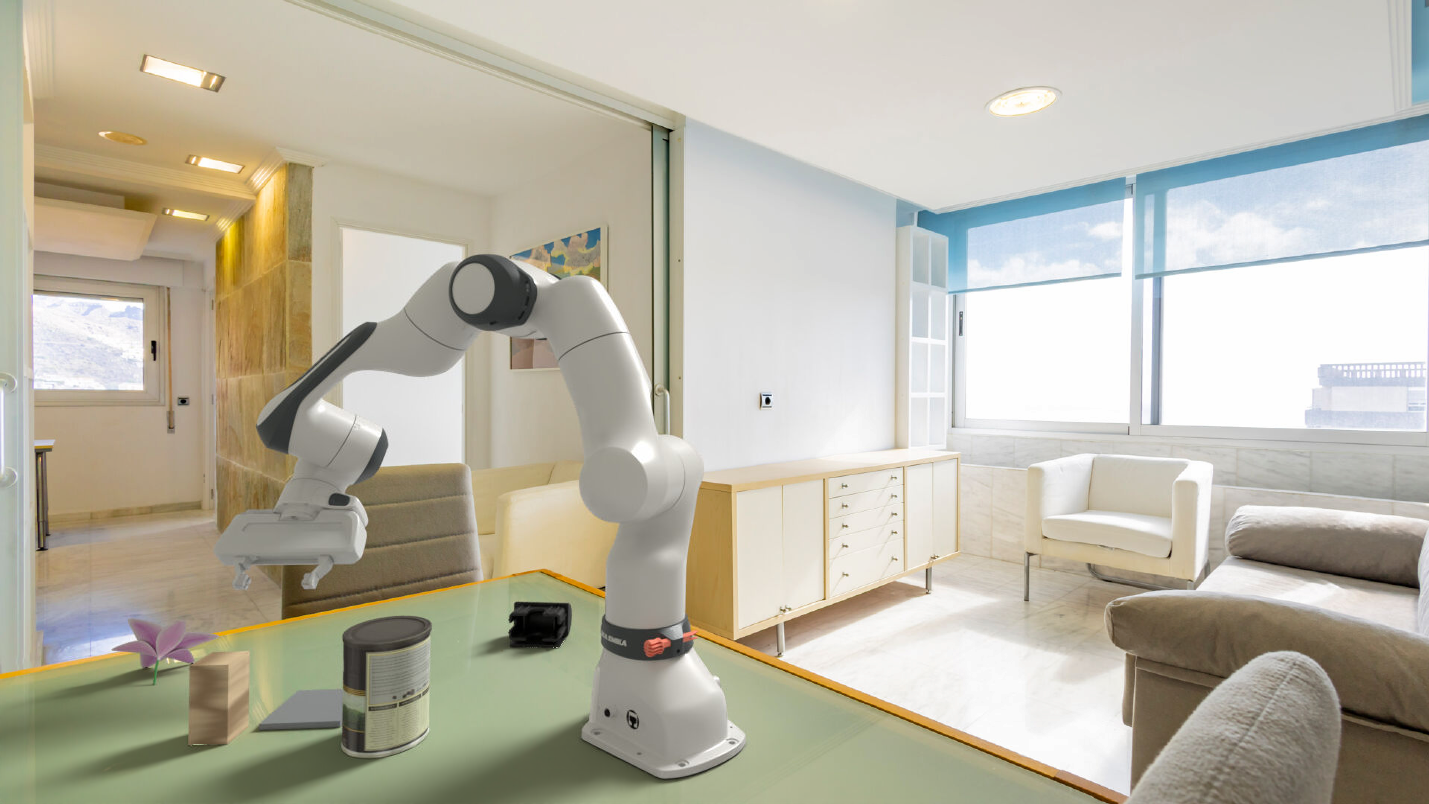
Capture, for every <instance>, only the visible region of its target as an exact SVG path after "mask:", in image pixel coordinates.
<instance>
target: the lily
mask: <svg viewBox="0 0 1429 804" xmlns="http://www.w3.org/2000/svg"><path fill="white" fill-rule="evenodd" d="M186 622H187V621H186V620H185V619H180V620H177V621H175V622H173V623H171V624H169V625H167V626H166V627H163V626H162V625H160V624H158V623H154V622H152V621H148V620H145V619H141V618H140V619H139V618H128V619H127V623H128V625H129V627H130V629H131V631H132V632H133V635H134V636H135V637H134V638H135V639H136V640H133V641H128V642H125V643H122V644H120V645H118V646H115V647H112V649H111V651H112V652H122V653H134V654H135V653H136V654H139V661H140V666H141V669H146V668H145V667H148V668H150V667H152V666H154V665H155V668H154V673H153V681H152V682H153V683H152V685H153V684H156V683H157V674H158V667H159V664H160V662H162V661H164V660H165V659H170V660H171V659H172V660H175V661H177V662H182V663H186V664H189V663H194V662H196V661H195V658H194V655H193V653H192V652H191V650H190V649H191V648H194V647H197V646H199V645H202V644H204V643H208V642H210V641H214V640H217V639H219V638H220V636H219V635H218V634H215V633H211V632H206V631H196V630H195V631H192V630H191V631H187V623H186ZM156 685H157V684H156Z"/></svg>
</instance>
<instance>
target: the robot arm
mask: <svg viewBox="0 0 1429 804" xmlns="http://www.w3.org/2000/svg"><path fill="white" fill-rule="evenodd" d="M483 331H484V332H485V331H486V332H493V333H497V334H501V335H505V336H507V337H510V338H514V339H515V338H516V339H525V340H526V339H527V340H536V341H547V342H548V343H549V345H550V347H551V349H552V353H553V355H554V357H555V360H556V362H557V365H558V367H559V370H560V372H561V375H562V378H563V381H564V382H565V385H566V387H567V389H568V393H569V395H570V398H571V400H572V402H573V403H572V404H573V405H574V408H575V411H576V414H577V415H576V416H577V417H578V422H579V428H580V434H581V435H580V436H581V441H582V448H583V463H582V466H581V469H580V473H579V477H578V478H579V480H578V488H579V489H578V490H579V494H580V497H581V499H582V502H583V504H584V505H585V507H586V508H587V510H588V511H589V512H590V513H591V514H592V515H593V516H594V517H596V518H597V519H599V520H602V521H604V522H606V523H607V522H608V523H613V524H618V527H617V532H616V534H615V539H614V540H613V544H612V547H610V548H611V549H610V550H609V552H608V554H607V557H606V561H605V590H604V591H605V592H604V597H605V598H604V599H605V601H604V603H605V605H604V614H603V615H602V617H601V624H600V643H601V646H602V647H603V648H602V652H601V655H600V659H599V660H598V662H597V665H596V667H595V669H594V671H593V679H592V688H591V697H590V705H589V707H590V708H589V716H588V721H587V722H586V723H585V725H584V726H582V729H581V739H582V740H584V741H586V742H587V743H589V744H591V745H593V746H595V747H597V748H599V749H601V750H603V751H605V752H607V753H609V754H611V755H613V756H614V757H617V758H619V759H621V760H623V761H625V762H627V763H629V764H631V765H633V766H635V767H636V768H638V769H641V770H643V771H645V772H646V773H649V774H651V775H652V776H654V777H656V778H660V779H675V778H682V777H683V778H684V777H687V776H691V775H694V774H698V773H700V772H703V771H706V770H708V769H711V768H713V767H715V766H718V765H720V764H722V763H724V762H726V761H728V760H729V759H731V758H733V757H734V756H735V755H737V754H738V753H740V751H741V750H742V749H744V747H745V746H746V744H747V743H746V742H747V738H746V737H747V736H746V733H745V732H744V731H743V730H742V729H741V728H739V727H738V726H737V725H736V724H734V723H733V722H732V721H731V720H730V719H729V718H728V709H727V708H728V707H727V700H726V697H725V694H724V693H725V692H724V691H723V690H722V689H723V688H722V683H721V680H720V678H719V677H718V676H717V675H713V674H711V671H709V669H708V668H707V666H706V664H705V663H704V662H703V660H702V659H701V657H700V656H699V654H698V653H697V652H696V650H695V648H694V640H696V639H698V636H695V635H696V634H697V633H698V632H699V631H698V630H692V629H691V628H692V627H691V623H690V620H689V615H688V614H687V613H686V597H687V596H686V593H687V591H686V587H687V586H686V585H687V564H688V563H687V560H688V552H689V545H690V539H691V534H692V530H693V525H694V524H693V523H694V519H695V512H696V506H697V499H698V494H699V490H700V487H701V485H702V482H703V479H704V475H705V466H704V461H703V457H702V455H701V454H700V452H699V451H698V449H697V448H696V447H695V445H693V444H692V443H691V442H689V441H687V440H685V439H683V438H681V437H678V436H676V435H673V434H665V433H664V434H659V432H658V429H657V426H656V423H655V417H654V413H653V407H652V401H651V400H652V398H651V397H652V390H653V389H652V387H653V385H652V382H651V379H650V377H649V375H648V372H647V370H646V368H645V365H644V362H643V359H642V358H641V356H640V354H639V351H638V348H637V346H636V344H635V342H634V340H633V337H632V335H631V332H630V331H629V328H628V326H627V323H626V322H625V320H624V318H623V316H622V313H621V312H620V310H619V308H618V307H617V306H616V304H615V302H614V301H613V299H612V297H611V296H610V294H609V292H608V291H607V290H606V288H605V287H604V285H603V284H602V283H601V282H600V281H599V280H597V279H596V278H595V277H591V276H588V275H584V274H583V275H581V274H580V275H579V274H578V275H577V274H576V275H570V276H567V277H564V278H562V277H560V276H558V275H556V274H554V273H551V272H547V271H545V270H543V269H542V268H539V267H536V266H534V265H533V264H532V263H528V262H526V261H522V260H517V259H512V258H507V257H505V256H503V255H499V254H493V253H491V254H490V253H479V254H475V255H471V256H468V257H467V258H465V259H463V260H461V261H458V260H457V261H456V260H455V261H450V262H448V263H447V262H446V263H445V264H443V265H442V266H441V267H440V268H439V269H437V270H436V271H435V272H434V273H433V274H432V275H431V276H430V277H429V278H427V279H426V281H424V282H423V283H422V285H421V286H419V288H417V290H416V291H415V292H414V293H413V295H412V296H411V297H410V298H409V300H408V301H407V303H406V304H405V305H404V306H403V307H402V308H401V310H400V311H399V312H398V313H396V314H394V315H393V316H391V317H389V318H387V319H384V320H382V321H378V322H375V321H366V322H363V323H362V324H360V325H358V326H356V327H355V328H353V329H352V330H351V331H349V333H347V334H346V335H345V336H344V337H343V338H341V339H340V340H339V341H338V342H336V344H335V345H334V346H333V347H330V349H329V350H328V351H326V353H325V354H323V355H322V356H321V357H320V358H319V359H318V360H317V361H316V362H315V363H313V364H312V366H310V368H308V369H306V371H305V372H304V373H303V374H302V375H301V376H299V377H298V379H296V380H295V381H294V382H293V383H291V384H290V385H289V386H287V387H286V388H285V389H283V390H282V391H281V392H280V393H278V394H277V395H275V396H274V397H273V398H272V399H270V400H269V401H268V402H267V403H266V405H265V406H264V407H263V409H261V412H260V413H259V416H258V418H257V421H256V424H255V429H256V432H257V435H258V437H259V438H260V440H261V443H263V445H264V447H265V448H266V449H269V450H273V451H276V452H279V453H282V454H284V455H290V456H293V457H296V458H297V461H296V463H295V465H294V469H293V475H292V477H291V478H290V479H289V480H288V481H287V483H285V486H284V488H283V490H282V491H281V493H280V496H279V498H278V500H277V502H276V504H275V506H274V508H269V509H268V508H264V509H256V508H253V509H247V510H246V511H243V512H241V513H239V514H235V516H234V517H233V518H232V520H231V522H230V523H229V525H227V527H226V529H224V531H223V533H222V534H221V536H220V537H219V538H218V540H217V541H216V543H215V545H214V547H213V554H214V555H215V557H216V558H217V559H218V561H219V562H220V563H221V564H222V565H223V566H233V568H234V572H235V576H234V578H233V580H232V583H231V586H232V588H233V589H234V590H235V591H245V590H246V591H247V590H248V589H249V586H250V584H251V583H252V578H251V577H249V575H248V574H247V573H246V572H245V571H250V569H251V567H252V566H290V565H291V566H293V565H294V566H296V565H297V566H298V565H299V566H300V565H303V566H304V565H307V566H309V565H317V566H316V567H315V568H314V569H313V570H312V571H311V572H310V573H309V572H306V573H304V575H303V579H302V580H301V581H300V582H301V583H300V585H301V587H303V589H304V590H316V588H317V585H318V583H319V582H320V581H319V580H321V579H322V578H324V576H326V575H327V574H329V572H330V571H331V570H332V569H333V565H354V564H355V563H357V562H358V561H359V560H361V558H362V557H363V554H364V550H365V547H366V543H367V537H368V536H367V534H368V533H367V530H366V527H367V526H368V524H369V517H368V515H367V511H366V509H365V507H364V506H363V504H362V502H361V500H359V498H358V497H357V496H354V495H350V494H347V493H346V490H347V488H348V487H350V486H355V485H358V484H361V483H362V482H366V481H367V480H370V479H371V478H373V477H374V476H375V475H376V474H377V472H378V471H379V470H380V468H381V466H382V464H383V461H384V458H385V457H386V453H387V451H388V448H389V439H388V435H387V432H386V430H385V429H384V428H383V427H381V426H380V425H378V424H376V423H374V422H372V421H370V420H368V419H367V418H365V417H361V416H359V415H357V414H354V413H352V412H350V411H348V410H346V409H344V408H341V407H340V406H337V405H335V404H332V403H331V402H328V401H326V400H325V399H323V398H325V397H326V395H327V394H329V393H330V392H331V391H332V390H333V389H334V388H335V387H336V386H337V385H339V383H341V382H342V381H343V380H344V379H345V378H347V376H349V375H350V374H352V373H356V372H362V371H376V372H384V373H385V372H386V373H392V374H396V375H402V376H407V377H414V378H426V377H428V378H429V377H434V376H438V375H440V374H441V375H442V374H444V373H446V372H447V371H449V370H450V369H452V368H453V367H454V366H455V365H456V364H457V363H458V362H459V361H460V360H461V359H462V358H463V356H464V355H466V353H467V352H468V350H469V349H470V348H471V346H472V345H473V343H475V341H476V339H478V337H479V335H480V334H481V333H482V332H483Z"/></svg>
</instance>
